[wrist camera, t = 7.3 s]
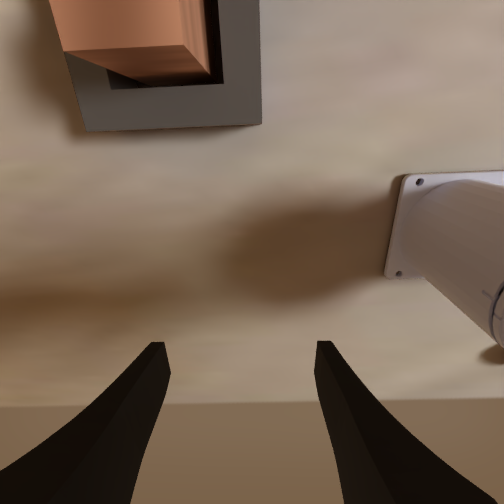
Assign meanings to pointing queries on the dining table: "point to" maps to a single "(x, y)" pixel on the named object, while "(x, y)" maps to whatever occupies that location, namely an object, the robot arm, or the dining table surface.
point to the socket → (180, 97)
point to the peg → (141, 38)
